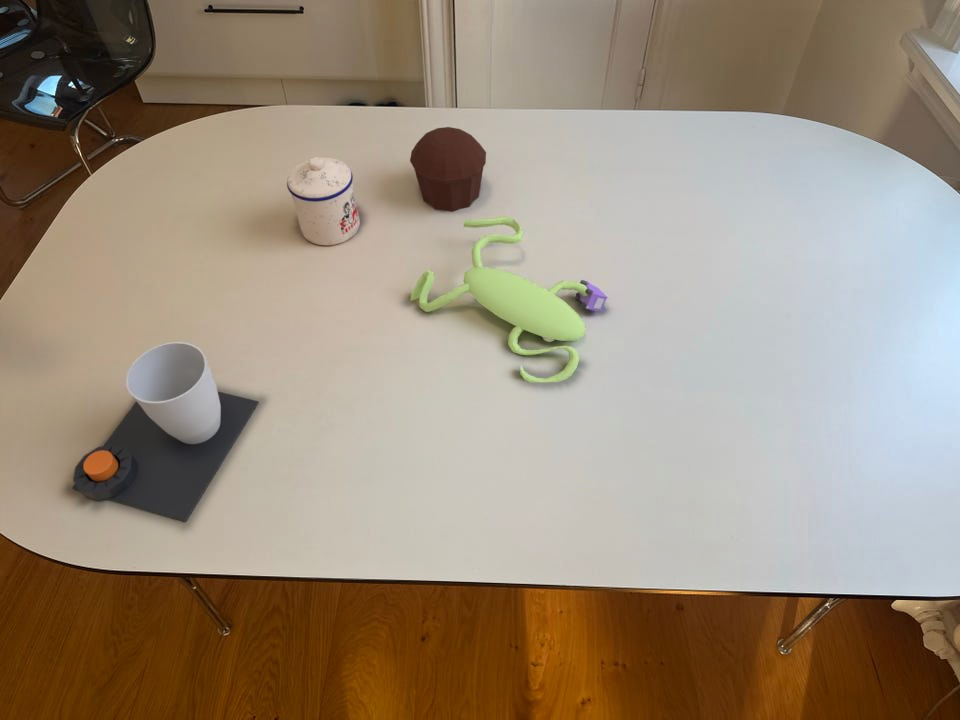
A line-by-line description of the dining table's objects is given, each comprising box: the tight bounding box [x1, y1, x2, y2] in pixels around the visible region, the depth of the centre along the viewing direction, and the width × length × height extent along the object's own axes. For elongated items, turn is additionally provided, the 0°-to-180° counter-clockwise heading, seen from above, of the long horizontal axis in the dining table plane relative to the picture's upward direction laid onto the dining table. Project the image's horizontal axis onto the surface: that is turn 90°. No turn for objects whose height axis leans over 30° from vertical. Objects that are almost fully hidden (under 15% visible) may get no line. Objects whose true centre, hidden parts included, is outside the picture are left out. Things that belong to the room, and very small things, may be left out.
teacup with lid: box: [286, 156, 361, 246], centre depth 101 cm, size 12×9×12 cm
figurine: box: [409, 215, 608, 383], centre depth 91 cm, size 18×27×6 cm
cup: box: [125, 341, 221, 444], centre depth 77 cm, size 8×8×10 cm
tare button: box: [83, 450, 118, 481], centre depth 75 cm, size 3×3×2 cm
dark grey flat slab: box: [71, 391, 260, 523], centre depth 79 cm, size 14×16×3 cm
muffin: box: [409, 126, 487, 212], centre depth 105 cm, size 12×11×10 cm
